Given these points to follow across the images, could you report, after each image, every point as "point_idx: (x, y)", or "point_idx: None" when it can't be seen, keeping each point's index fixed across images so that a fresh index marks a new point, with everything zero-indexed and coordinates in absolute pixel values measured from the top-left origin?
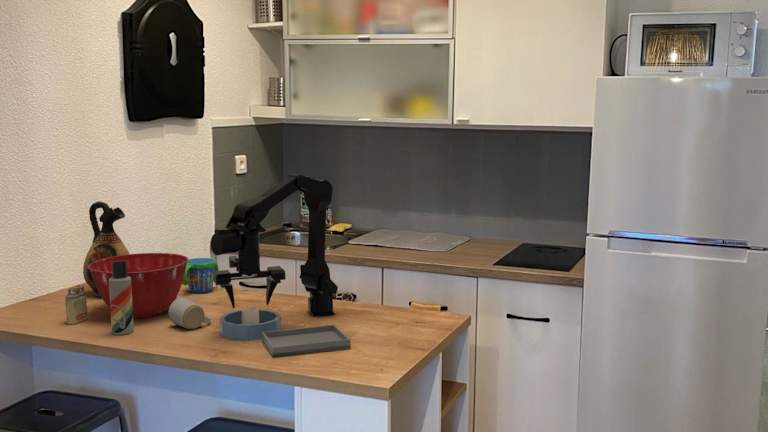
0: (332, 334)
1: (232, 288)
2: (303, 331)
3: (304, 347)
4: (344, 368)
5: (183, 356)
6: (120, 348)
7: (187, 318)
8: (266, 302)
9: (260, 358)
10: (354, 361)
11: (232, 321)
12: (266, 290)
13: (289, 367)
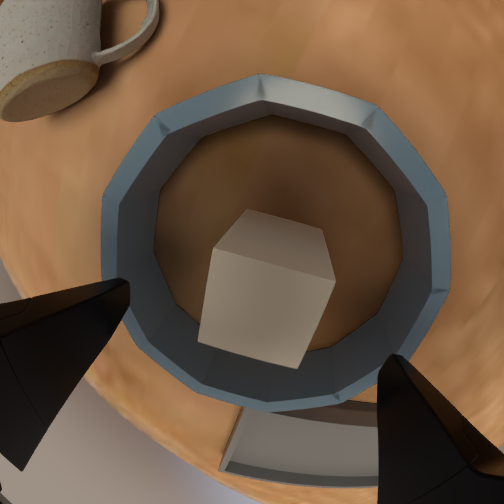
0: None
1: (31, 451)
2: None
3: (291, 478)
4: (301, 499)
5: None
6: None
7: (23, 117)
8: (385, 378)
9: (197, 443)
10: (334, 493)
11: (215, 127)
12: (439, 433)
13: (230, 478)
